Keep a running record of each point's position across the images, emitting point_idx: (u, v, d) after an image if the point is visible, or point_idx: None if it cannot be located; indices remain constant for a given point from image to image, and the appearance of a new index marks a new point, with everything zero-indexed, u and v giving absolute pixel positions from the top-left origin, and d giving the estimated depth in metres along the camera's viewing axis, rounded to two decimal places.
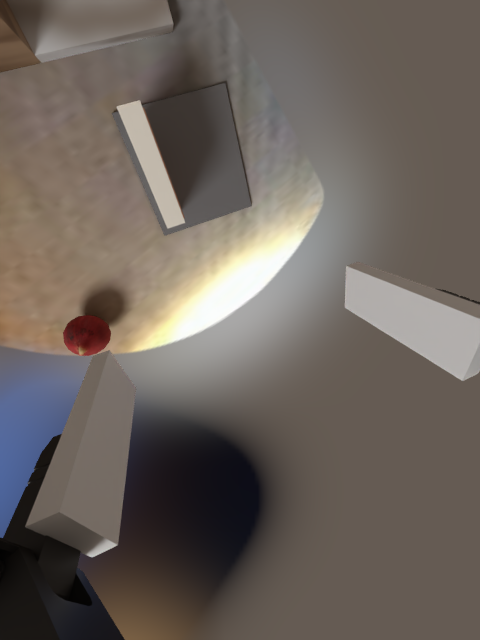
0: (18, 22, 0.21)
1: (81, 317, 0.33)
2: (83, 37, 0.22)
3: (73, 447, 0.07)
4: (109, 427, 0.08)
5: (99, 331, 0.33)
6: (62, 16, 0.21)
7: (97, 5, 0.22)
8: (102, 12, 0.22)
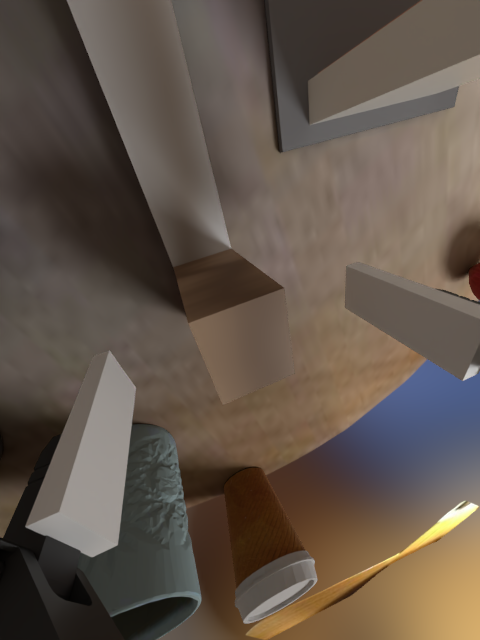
0: (201, 257, 0.15)
1: None
2: (202, 162, 0.13)
3: (73, 447, 0.07)
4: (109, 427, 0.08)
5: None
6: (183, 191, 0.13)
7: (153, 112, 0.11)
8: (161, 104, 0.11)
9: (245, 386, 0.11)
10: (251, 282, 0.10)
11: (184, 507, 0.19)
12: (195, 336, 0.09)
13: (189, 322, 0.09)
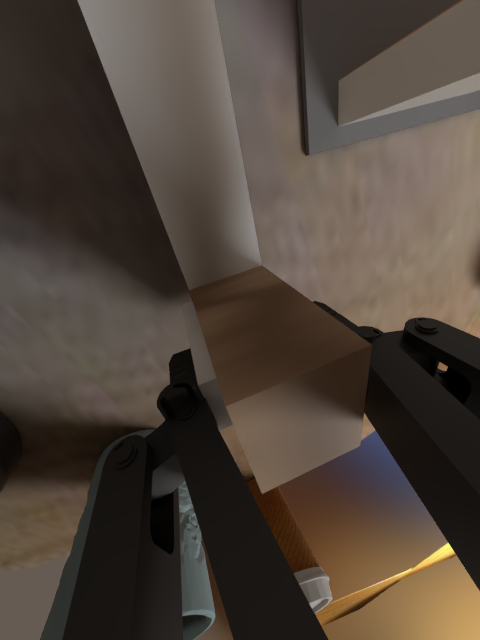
0: (224, 277, 0.12)
1: None
2: (231, 155, 0.09)
3: (205, 350, 0.09)
4: None
5: None
6: (204, 193, 0.10)
7: (168, 83, 0.08)
8: (179, 72, 0.08)
9: (294, 470, 0.08)
10: (310, 328, 0.07)
11: None
12: (234, 422, 0.06)
13: (227, 405, 0.05)
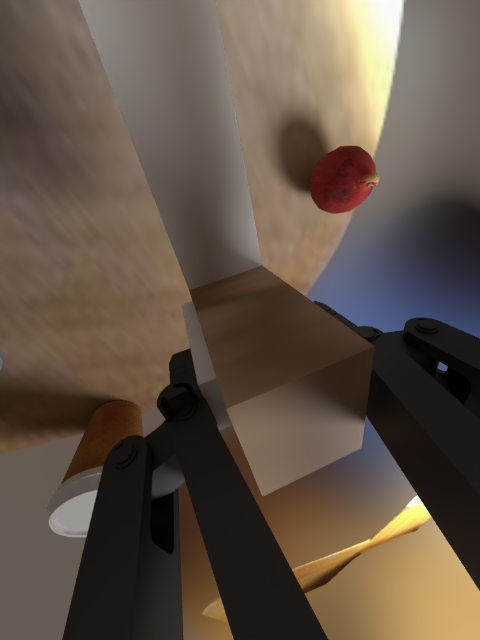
0: (225, 277, 0.12)
1: (314, 181, 0.23)
2: (232, 154, 0.09)
3: (205, 350, 0.09)
4: None
5: (348, 152, 0.20)
6: (205, 192, 0.10)
7: (169, 82, 0.08)
8: (180, 70, 0.08)
9: (295, 472, 0.08)
10: (312, 329, 0.07)
11: None
12: (235, 424, 0.06)
13: (227, 407, 0.05)
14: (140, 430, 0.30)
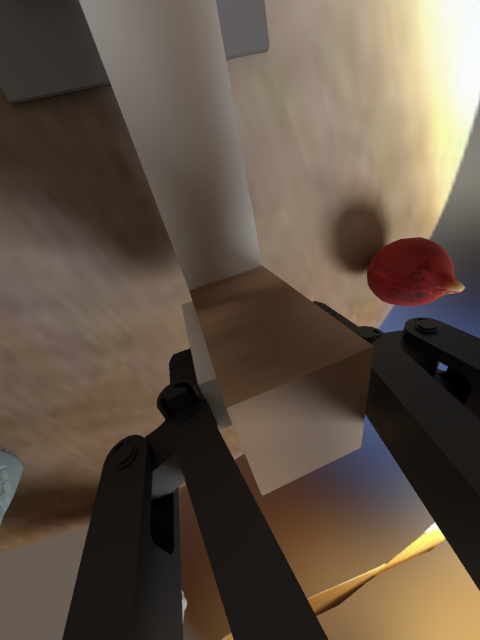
0: (225, 277, 0.12)
1: (377, 274, 0.20)
2: (232, 154, 0.09)
3: (205, 350, 0.09)
4: None
5: (424, 253, 0.17)
6: (205, 193, 0.10)
7: (169, 83, 0.08)
8: (180, 71, 0.08)
9: (294, 471, 0.08)
10: (311, 329, 0.07)
11: None
12: (234, 423, 0.06)
13: (227, 406, 0.05)
14: None
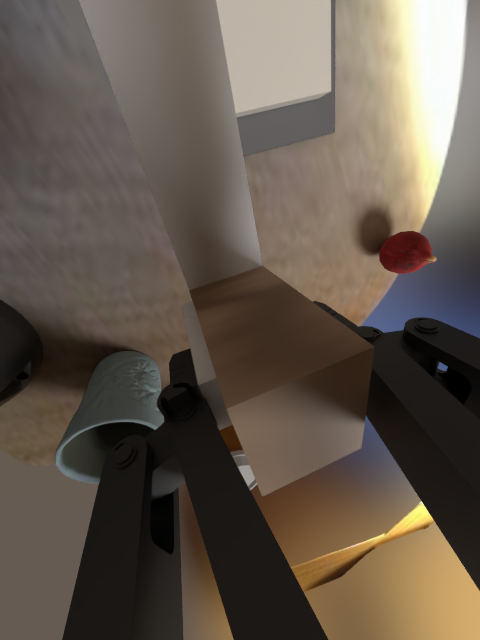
0: (225, 277, 0.12)
1: (386, 253, 0.32)
2: (233, 154, 0.09)
3: (205, 350, 0.09)
4: None
5: (414, 239, 0.30)
6: (205, 193, 0.10)
7: (169, 82, 0.08)
8: (180, 70, 0.08)
9: (295, 472, 0.08)
10: (312, 329, 0.07)
11: None
12: (235, 424, 0.06)
13: (227, 407, 0.05)
14: None
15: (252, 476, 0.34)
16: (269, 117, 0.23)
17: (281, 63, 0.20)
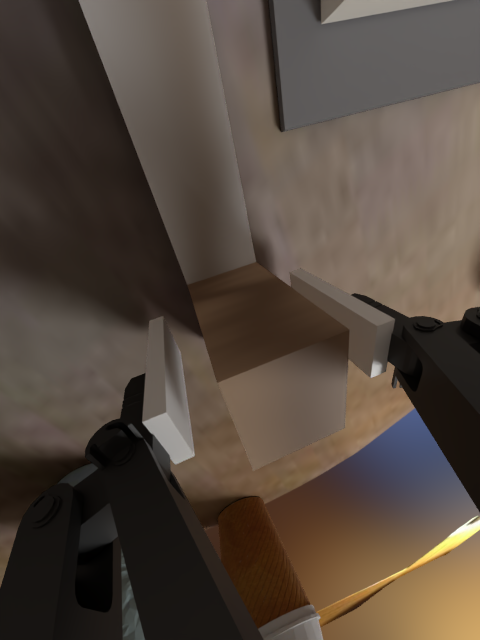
0: (221, 272, 0.12)
1: None
2: (227, 158, 0.10)
3: (159, 377, 0.08)
4: (174, 372, 0.10)
5: None
6: (201, 193, 0.10)
7: (167, 93, 0.09)
8: (178, 82, 0.08)
9: (283, 448, 0.09)
10: (297, 316, 0.08)
11: None
12: (225, 398, 0.06)
13: (218, 381, 0.06)
14: None
15: None
16: (402, 30, 0.11)
17: None
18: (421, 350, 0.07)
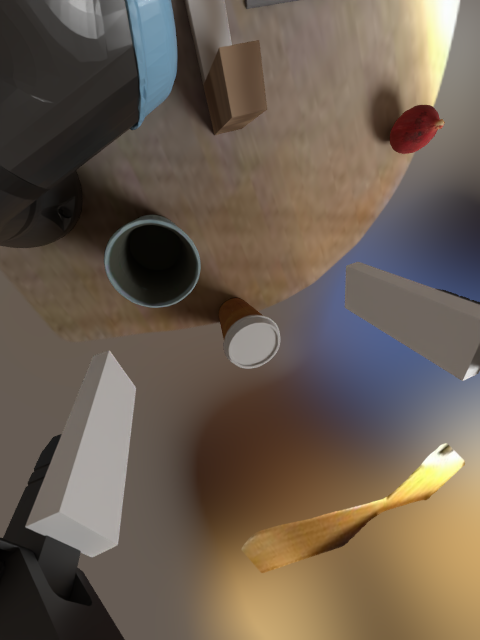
0: None
1: (396, 129, 0.35)
2: (222, 12, 0.25)
3: (73, 447, 0.07)
4: (109, 427, 0.08)
5: (423, 107, 0.33)
6: (212, 28, 0.26)
7: None
8: None
9: (242, 107, 0.24)
10: None
11: None
12: (221, 57, 0.21)
13: (219, 47, 0.21)
14: None
15: (271, 344, 0.37)
16: None
17: None
18: None
